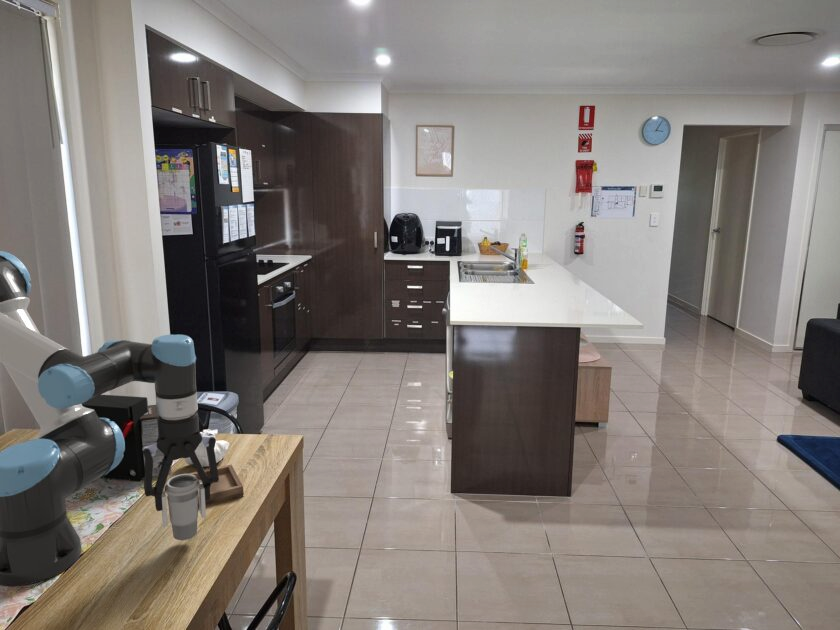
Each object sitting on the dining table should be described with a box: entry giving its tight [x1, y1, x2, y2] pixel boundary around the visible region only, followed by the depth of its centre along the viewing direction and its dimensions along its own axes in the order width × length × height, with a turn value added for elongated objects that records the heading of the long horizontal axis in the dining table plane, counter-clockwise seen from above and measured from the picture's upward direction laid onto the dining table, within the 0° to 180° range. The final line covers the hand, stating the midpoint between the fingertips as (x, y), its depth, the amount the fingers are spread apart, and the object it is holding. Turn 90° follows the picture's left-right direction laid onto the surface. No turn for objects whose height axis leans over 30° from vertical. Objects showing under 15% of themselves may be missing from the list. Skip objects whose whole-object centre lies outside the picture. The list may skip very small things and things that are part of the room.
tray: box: [188, 464, 245, 508], centre depth 145 cm, size 13×13×2 cm
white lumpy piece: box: [183, 428, 230, 468], centre depth 158 cm, size 12×8×11 cm
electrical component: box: [81, 394, 149, 482], centre depth 152 cm, size 18×10×20 cm, turn 82°
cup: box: [164, 473, 200, 541], centre depth 122 cm, size 7×7×12 cm
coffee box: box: [140, 404, 172, 477], centre depth 155 cm, size 9×6×16 cm
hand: (184, 518), depth 123 cm, fingers closed on cup, 7 cm apart
